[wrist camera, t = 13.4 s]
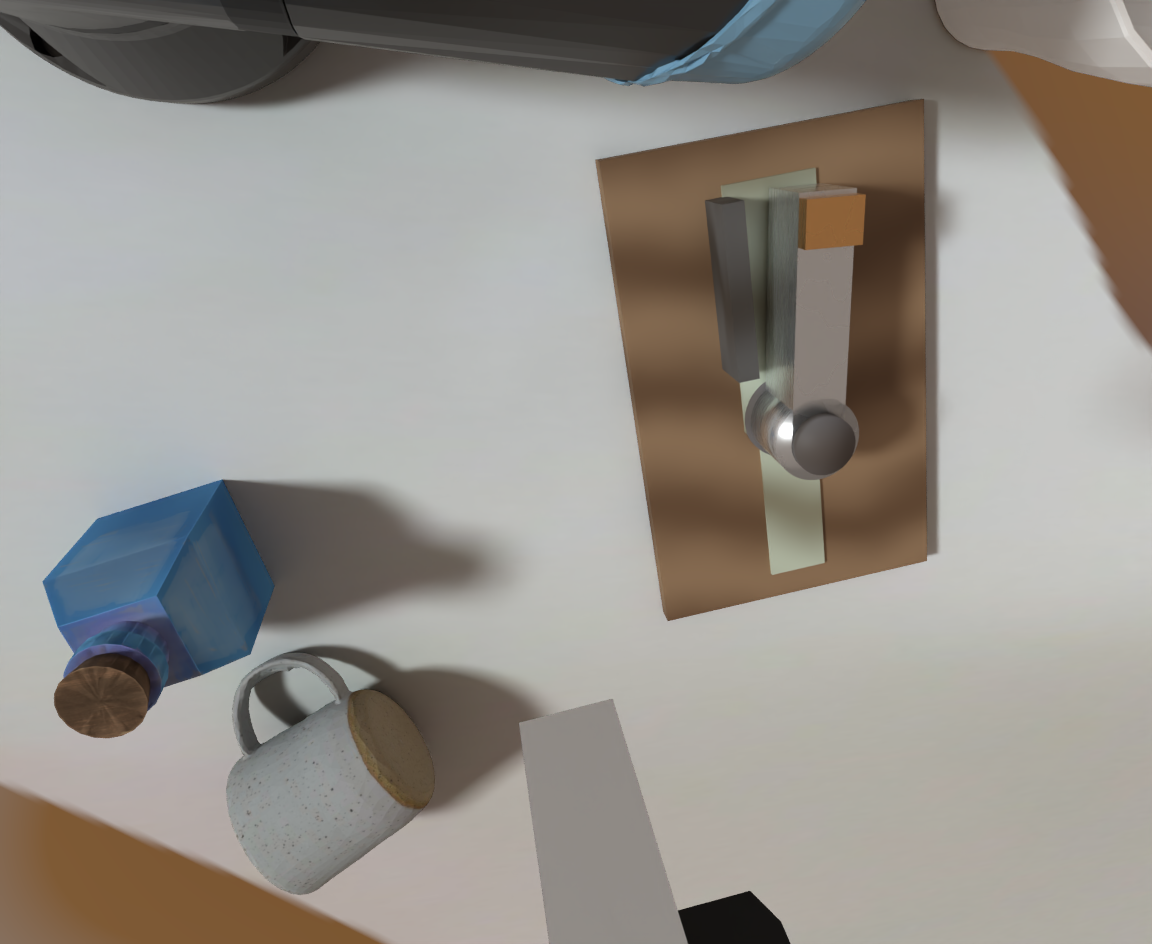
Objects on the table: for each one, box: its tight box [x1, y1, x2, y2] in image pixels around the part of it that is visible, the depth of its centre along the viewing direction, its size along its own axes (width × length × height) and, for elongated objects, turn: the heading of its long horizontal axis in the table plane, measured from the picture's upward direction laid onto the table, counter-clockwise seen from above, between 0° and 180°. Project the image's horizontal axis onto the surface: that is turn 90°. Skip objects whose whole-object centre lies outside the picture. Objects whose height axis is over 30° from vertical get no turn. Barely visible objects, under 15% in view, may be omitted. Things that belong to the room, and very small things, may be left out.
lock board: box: [595, 99, 927, 621], centre depth 41 cm, size 24×15×6 cm, turn 10°
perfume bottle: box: [43, 480, 274, 738], centre depth 37 cm, size 6×6×12 cm
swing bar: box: [751, 183, 866, 480], centre depth 39 cm, size 13×4×4 cm, turn 4°
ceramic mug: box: [226, 653, 435, 895], centre depth 43 cm, size 11×8×8 cm
